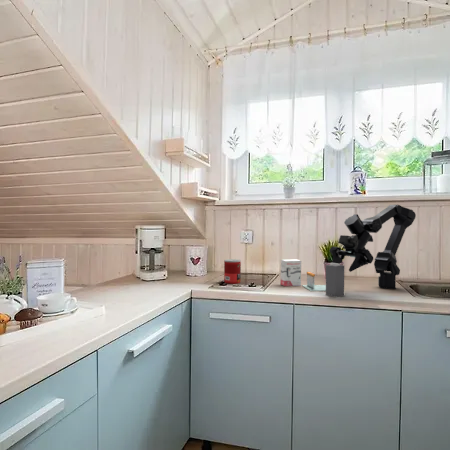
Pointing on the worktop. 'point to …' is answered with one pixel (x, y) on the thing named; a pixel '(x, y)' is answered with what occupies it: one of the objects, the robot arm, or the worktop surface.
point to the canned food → (232, 271)
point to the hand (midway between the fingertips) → (340, 269)
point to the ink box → (290, 272)
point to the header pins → (310, 280)
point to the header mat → (316, 288)
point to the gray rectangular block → (335, 280)
